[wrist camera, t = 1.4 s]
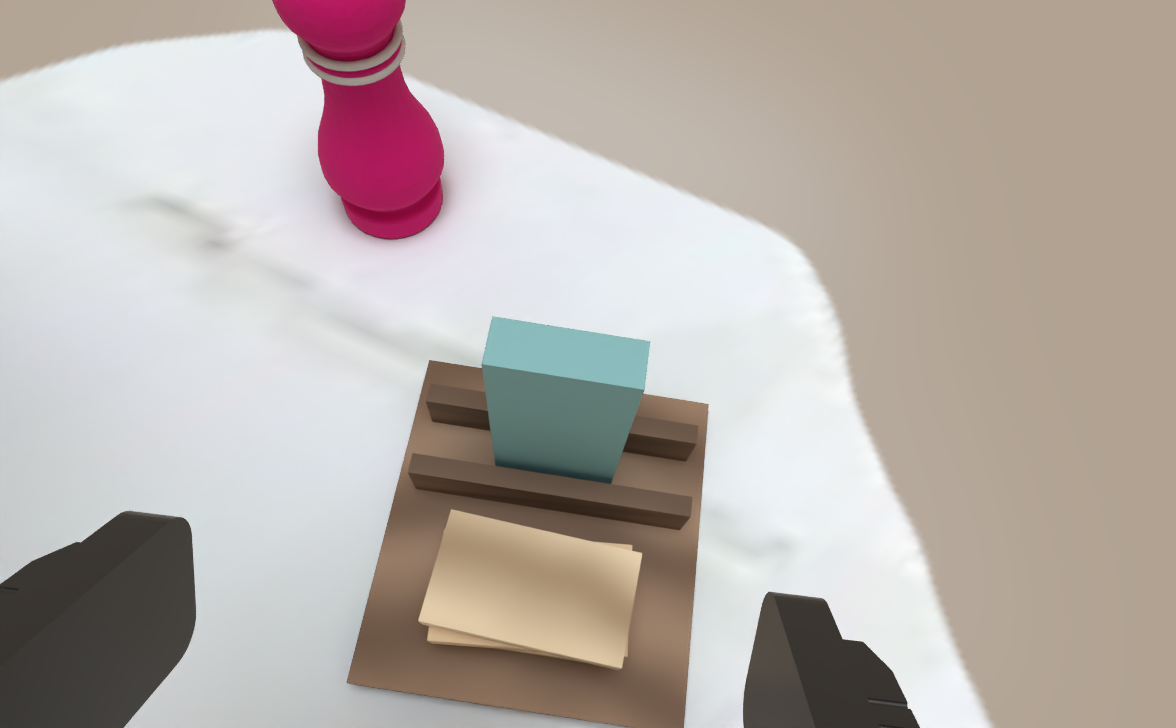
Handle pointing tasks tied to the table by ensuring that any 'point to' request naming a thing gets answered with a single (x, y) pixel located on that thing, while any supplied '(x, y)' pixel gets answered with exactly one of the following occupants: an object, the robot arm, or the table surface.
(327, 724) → the table surface
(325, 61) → the pepper mill
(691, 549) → the rack
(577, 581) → the offcut top
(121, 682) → the robot arm
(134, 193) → the table surface
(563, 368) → the teal rectangular block
